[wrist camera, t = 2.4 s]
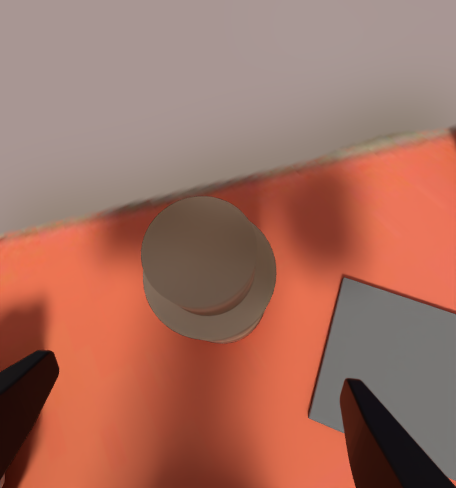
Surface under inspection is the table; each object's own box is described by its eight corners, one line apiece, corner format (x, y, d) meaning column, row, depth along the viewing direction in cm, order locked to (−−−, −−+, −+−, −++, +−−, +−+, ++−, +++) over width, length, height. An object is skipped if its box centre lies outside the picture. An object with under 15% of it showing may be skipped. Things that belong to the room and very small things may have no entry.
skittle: (248, 356, 18) (253, 371, 7) (177, 327, 19) (80, 300, 8) (272, 282, 20) (307, 199, 9) (205, 259, 21) (157, 155, 9)
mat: (470, 486, 15) (474, 488, 15) (308, 417, 17) (309, 418, 17) (484, 325, 18) (487, 325, 18) (342, 278, 20) (344, 277, 19)
